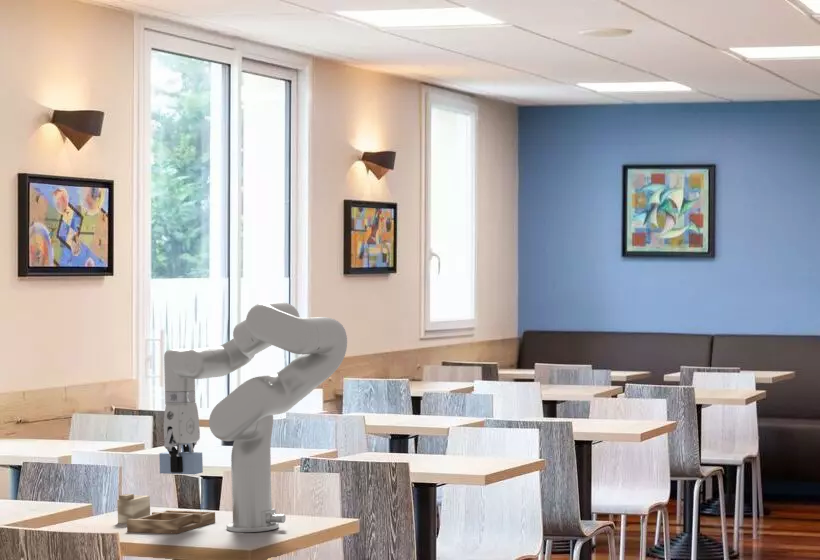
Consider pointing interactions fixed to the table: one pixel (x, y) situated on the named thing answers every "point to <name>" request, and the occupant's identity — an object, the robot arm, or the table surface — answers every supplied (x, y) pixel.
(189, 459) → the bar
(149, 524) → the tray
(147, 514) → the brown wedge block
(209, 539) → the table surface
